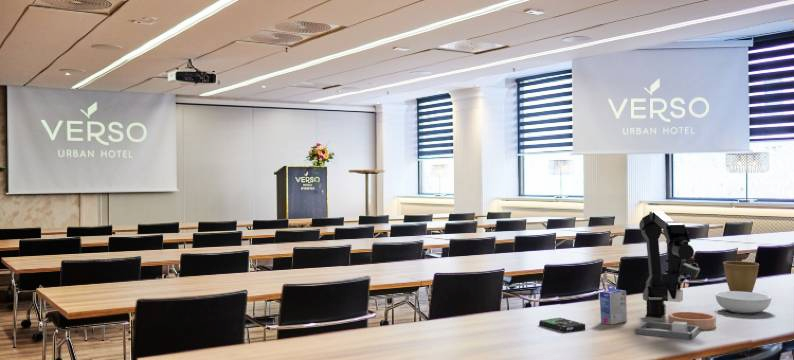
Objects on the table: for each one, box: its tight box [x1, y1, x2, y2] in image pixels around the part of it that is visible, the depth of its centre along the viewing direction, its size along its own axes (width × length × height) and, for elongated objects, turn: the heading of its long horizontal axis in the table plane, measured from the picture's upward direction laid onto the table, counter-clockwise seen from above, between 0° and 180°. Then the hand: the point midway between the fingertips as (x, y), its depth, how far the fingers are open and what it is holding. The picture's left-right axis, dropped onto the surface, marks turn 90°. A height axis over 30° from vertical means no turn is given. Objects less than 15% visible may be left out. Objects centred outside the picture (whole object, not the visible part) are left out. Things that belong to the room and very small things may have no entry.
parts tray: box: [635, 321, 701, 340], centre depth 261 cm, size 19×15×2 cm
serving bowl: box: [715, 290, 772, 315], centre depth 300 cm, size 21×21×7 cm
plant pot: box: [722, 260, 760, 292], centre depth 334 cm, size 15×15×16 cm
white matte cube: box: [667, 288, 684, 303], centre depth 272 cm, size 4×4×4 cm
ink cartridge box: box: [599, 283, 628, 325], centre depth 281 cm, size 10×6×14 cm, turn 124°
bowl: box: [667, 311, 717, 330], centre depth 274 cm, size 16×16×4 cm
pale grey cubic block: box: [671, 321, 688, 333], centre depth 259 cm, size 4×4×4 cm
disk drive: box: [538, 317, 586, 334], centre depth 272 cm, size 10×3×15 cm
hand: (675, 297), depth 272 cm, fingers closed on white matte cube, 4 cm apart
